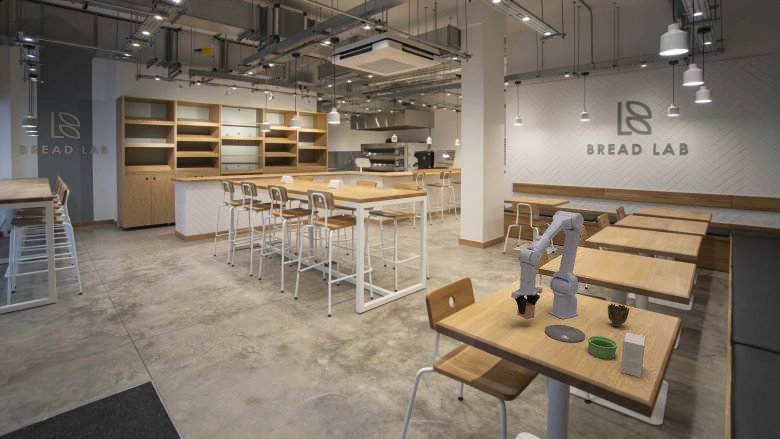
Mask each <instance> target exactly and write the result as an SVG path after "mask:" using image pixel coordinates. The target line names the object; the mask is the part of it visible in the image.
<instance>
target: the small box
mask: <svg viewBox="0 0 780 439" xmlns="http://www.w3.org/2000/svg"><path fill="white" fill-rule="evenodd" d="M646 338H647V336H645V335H640V334H636V333H631V332H625V335H624V339H623V346H622V356H621V363H620V364H621V366H620V373H622V372H623V373H622V374H626V373H627V374H626V375H629V374H631V375H630V376H633V375H635V376H634V377H637V376H639V377H638V378H641V377H642V370H643V363H644V357H645V356H644V355H645V347H646V341H647V340H646Z"/></svg>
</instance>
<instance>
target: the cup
mask: <svg viewBox="0 0 780 439" xmlns="http://www.w3.org/2000/svg"><path fill="white" fill-rule="evenodd" d="M629 313H630V308H628V306H627V307H626V305H625V304H624V305H623V304H618V305H616V304H615V303H610V304H608V305H607V317H608V319H609V321H610V322H611V325H612V326H613V327H614V328H621V327H623V324H625V323H626V322H627V320H628V317H629Z"/></svg>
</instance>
